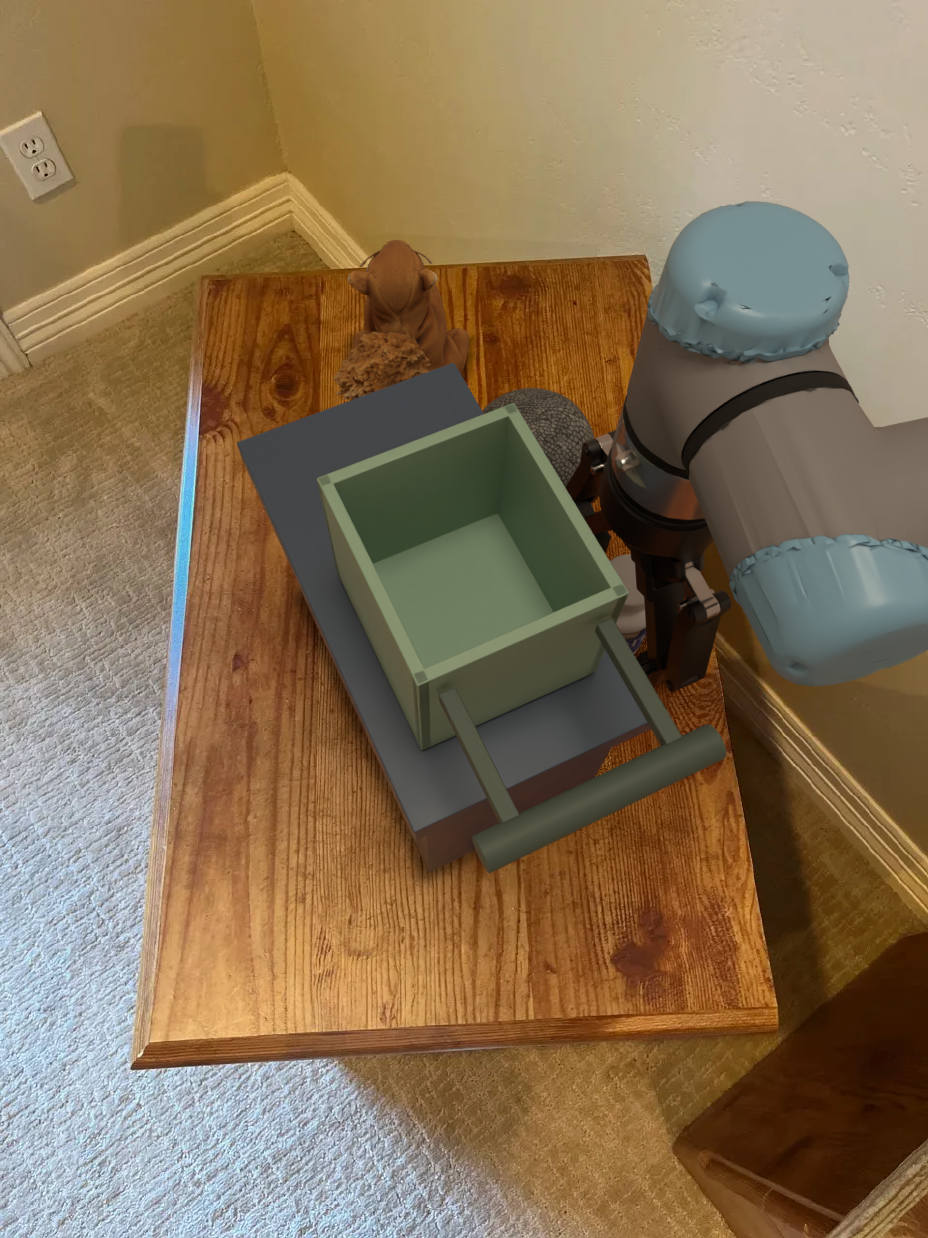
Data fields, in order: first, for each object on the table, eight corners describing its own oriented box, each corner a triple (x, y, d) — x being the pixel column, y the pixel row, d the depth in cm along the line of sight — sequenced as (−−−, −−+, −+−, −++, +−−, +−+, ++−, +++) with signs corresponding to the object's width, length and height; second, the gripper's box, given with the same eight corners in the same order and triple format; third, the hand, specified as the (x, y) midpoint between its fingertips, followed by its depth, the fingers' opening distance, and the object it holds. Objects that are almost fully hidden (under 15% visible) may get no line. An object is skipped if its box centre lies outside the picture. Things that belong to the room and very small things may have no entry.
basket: (681, 802, 47) (736, 747, 38) (480, 901, 45) (490, 867, 36) (509, 502, 53) (523, 398, 45) (328, 576, 51) (305, 481, 43)
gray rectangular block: (601, 805, 67) (662, 716, 49) (421, 893, 64) (413, 833, 46) (450, 525, 76) (454, 361, 58) (286, 591, 73) (236, 441, 55)
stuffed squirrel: (470, 333, 84) (475, 214, 72) (453, 467, 78) (455, 362, 66) (359, 322, 84) (345, 202, 72) (333, 455, 79) (314, 348, 66)
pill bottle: (598, 675, 71) (619, 628, 63) (561, 620, 73) (576, 566, 65) (656, 643, 72) (684, 592, 64) (618, 589, 74) (640, 533, 66)
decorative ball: (594, 538, 76) (616, 469, 67) (470, 547, 75) (474, 478, 66) (577, 434, 80) (594, 355, 71) (459, 442, 79) (461, 363, 70)
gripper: (525, 346, 55) (502, 536, 75) (723, 659, 47) (637, 776, 68) (638, 304, 56) (585, 502, 77) (847, 601, 49) (726, 733, 69)
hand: (609, 630), depth 72 cm, fingers open, 9 cm apart
